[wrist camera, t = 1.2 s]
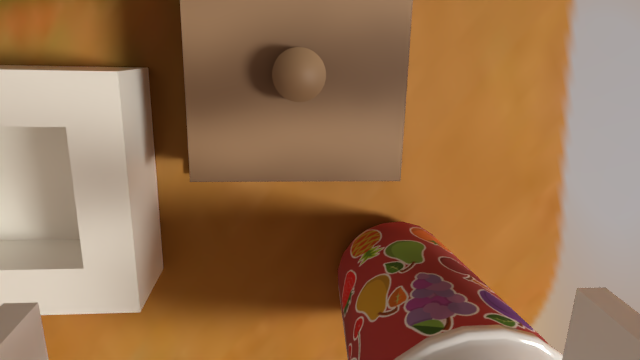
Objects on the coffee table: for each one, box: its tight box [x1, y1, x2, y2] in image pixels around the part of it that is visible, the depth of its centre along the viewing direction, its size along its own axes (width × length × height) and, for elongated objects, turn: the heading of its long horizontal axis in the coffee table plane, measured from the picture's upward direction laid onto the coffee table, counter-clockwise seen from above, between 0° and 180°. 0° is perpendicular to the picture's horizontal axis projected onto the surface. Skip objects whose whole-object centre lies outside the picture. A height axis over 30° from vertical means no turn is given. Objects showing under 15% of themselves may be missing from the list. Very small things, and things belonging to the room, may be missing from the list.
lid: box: [180, 0, 413, 182], centre depth 23 cm, size 10×10×5 cm
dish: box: [0, 65, 163, 315], centre depth 24 cm, size 12×12×5 cm
